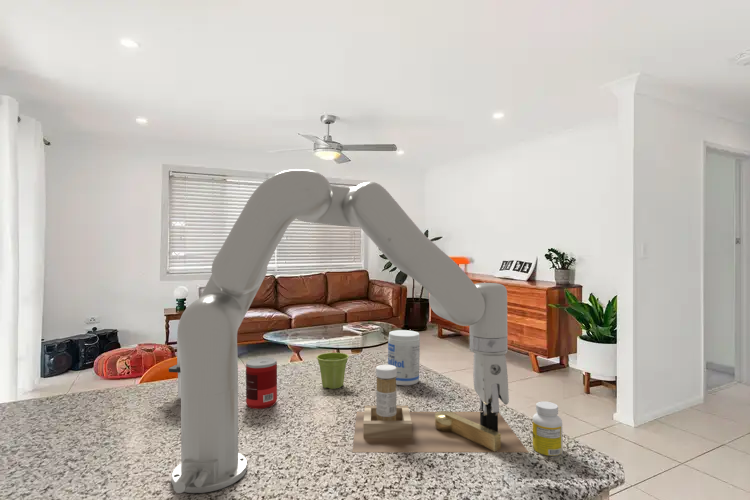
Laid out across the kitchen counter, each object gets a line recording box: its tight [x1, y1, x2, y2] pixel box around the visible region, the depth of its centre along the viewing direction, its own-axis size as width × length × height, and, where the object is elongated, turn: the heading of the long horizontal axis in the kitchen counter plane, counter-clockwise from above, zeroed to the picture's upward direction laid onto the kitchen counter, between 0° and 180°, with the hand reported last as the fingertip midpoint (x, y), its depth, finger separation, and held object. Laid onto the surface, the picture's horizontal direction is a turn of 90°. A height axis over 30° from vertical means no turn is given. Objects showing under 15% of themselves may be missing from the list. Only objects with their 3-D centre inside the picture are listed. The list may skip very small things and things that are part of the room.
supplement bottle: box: [532, 400, 564, 458], centre depth 82 cm, size 5×5×10 cm
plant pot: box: [315, 352, 350, 390], centre depth 123 cm, size 9×9×9 cm
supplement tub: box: [387, 329, 421, 386], centre depth 127 cm, size 10×10×15 cm
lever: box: [435, 410, 501, 451], centre depth 88 cm, size 5×16×3 cm, turn 37°
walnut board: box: [351, 411, 529, 453], centre depth 91 cm, size 20×34×1 cm, turn 90°
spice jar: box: [375, 364, 397, 421], centre depth 92 cm, size 5×5×14 cm
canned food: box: [245, 357, 278, 410], centre depth 109 cm, size 8×8×11 cm
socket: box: [363, 404, 412, 438], centre depth 92 cm, size 10×10×3 cm
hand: (489, 432), depth 87 cm, fingers closed
